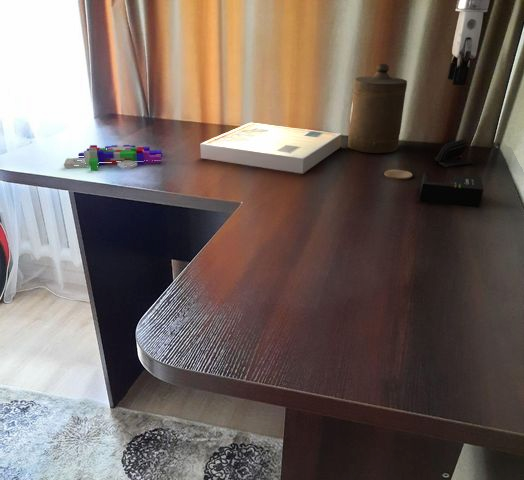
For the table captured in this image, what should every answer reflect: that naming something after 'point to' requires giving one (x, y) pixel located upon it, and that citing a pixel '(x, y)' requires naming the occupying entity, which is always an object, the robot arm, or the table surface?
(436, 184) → the battery charger
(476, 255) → the table surface
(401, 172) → the coaster
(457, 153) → the webcam
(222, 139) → the flat white box
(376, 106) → the wooden container
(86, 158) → the building block set
